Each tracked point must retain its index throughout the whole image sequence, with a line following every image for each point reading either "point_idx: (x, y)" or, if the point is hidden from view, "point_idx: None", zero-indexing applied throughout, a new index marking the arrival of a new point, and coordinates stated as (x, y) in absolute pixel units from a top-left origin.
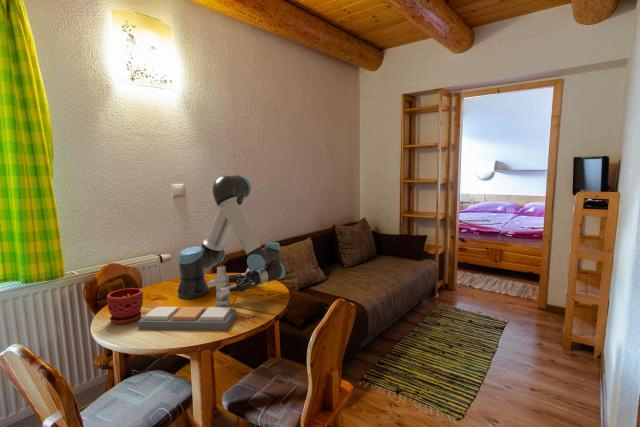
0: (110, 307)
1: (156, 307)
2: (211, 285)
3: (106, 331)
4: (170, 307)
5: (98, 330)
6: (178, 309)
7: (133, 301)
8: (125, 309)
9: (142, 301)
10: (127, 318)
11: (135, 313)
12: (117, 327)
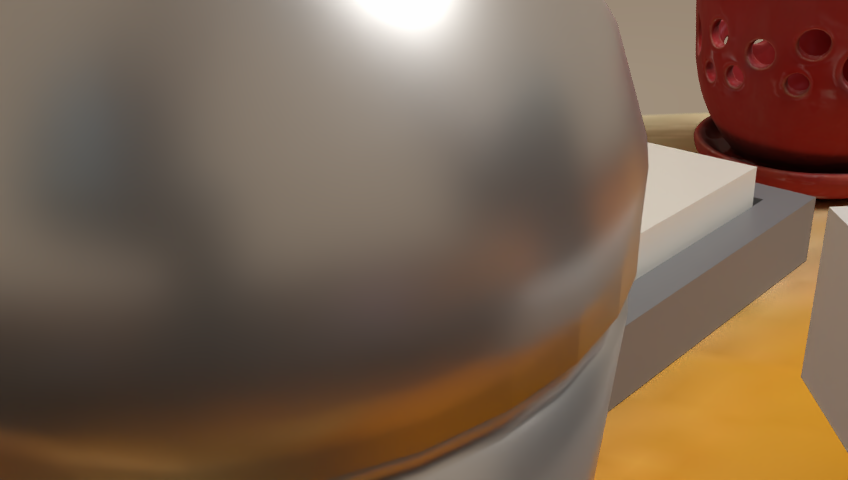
0: (825, 35)
1: (735, 165)
2: (842, 394)
3: (652, 128)
4: (654, 213)
5: (693, 116)
6: (639, 287)
7: (712, 10)
8: (696, 50)
9: (820, 74)
10: (721, 134)
11: (735, 129)
12: (679, 148)
